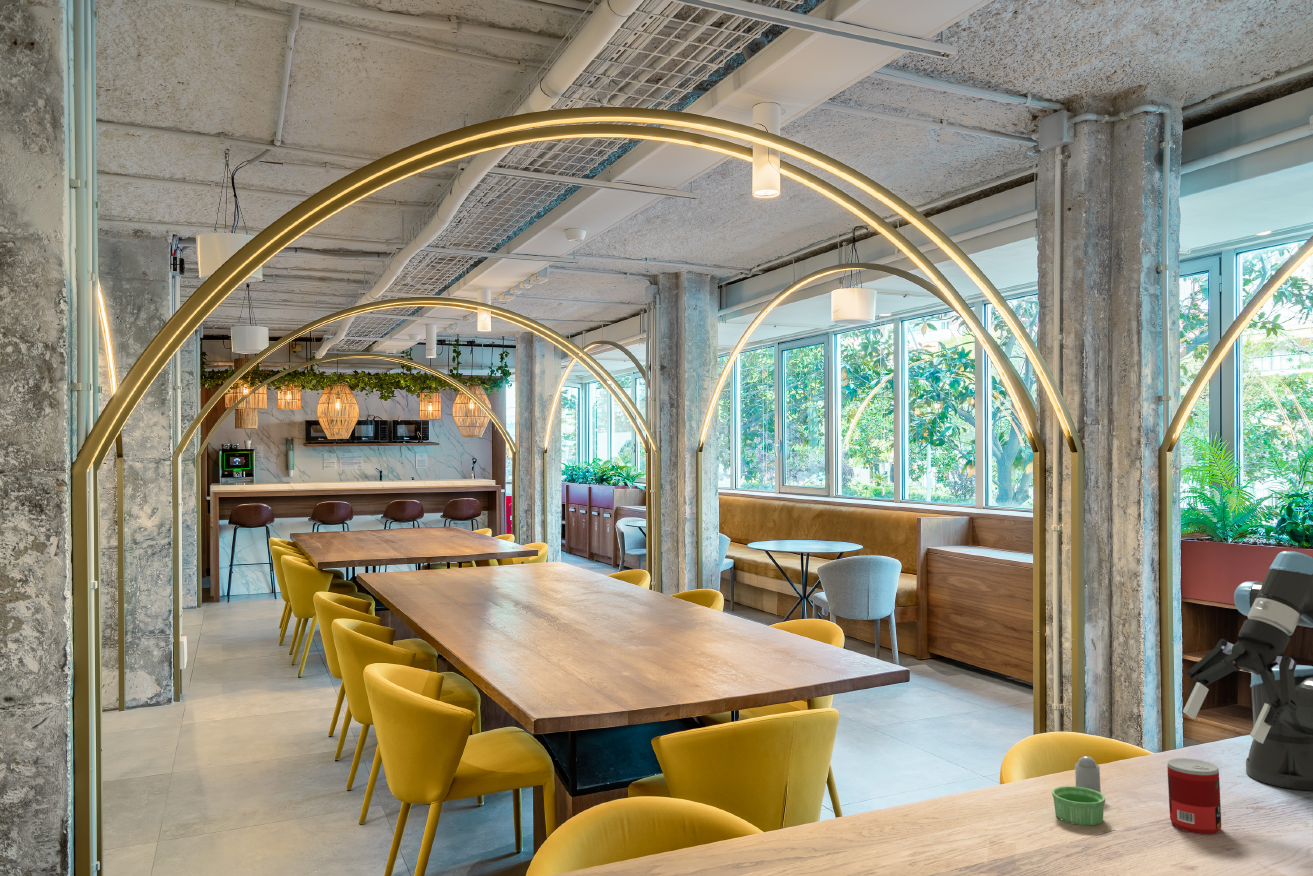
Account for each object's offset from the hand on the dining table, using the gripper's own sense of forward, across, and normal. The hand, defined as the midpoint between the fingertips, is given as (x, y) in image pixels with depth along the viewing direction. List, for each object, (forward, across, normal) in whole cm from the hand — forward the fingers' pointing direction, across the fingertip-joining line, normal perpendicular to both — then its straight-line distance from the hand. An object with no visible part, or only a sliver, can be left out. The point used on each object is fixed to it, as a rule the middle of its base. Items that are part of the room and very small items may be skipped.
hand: (1221, 727), depth 165 cm
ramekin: (+28, -8, -11) cm, 31 cm away
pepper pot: (+23, -16, -3) cm, 28 cm away
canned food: (+19, +3, +1) cm, 19 cm away
